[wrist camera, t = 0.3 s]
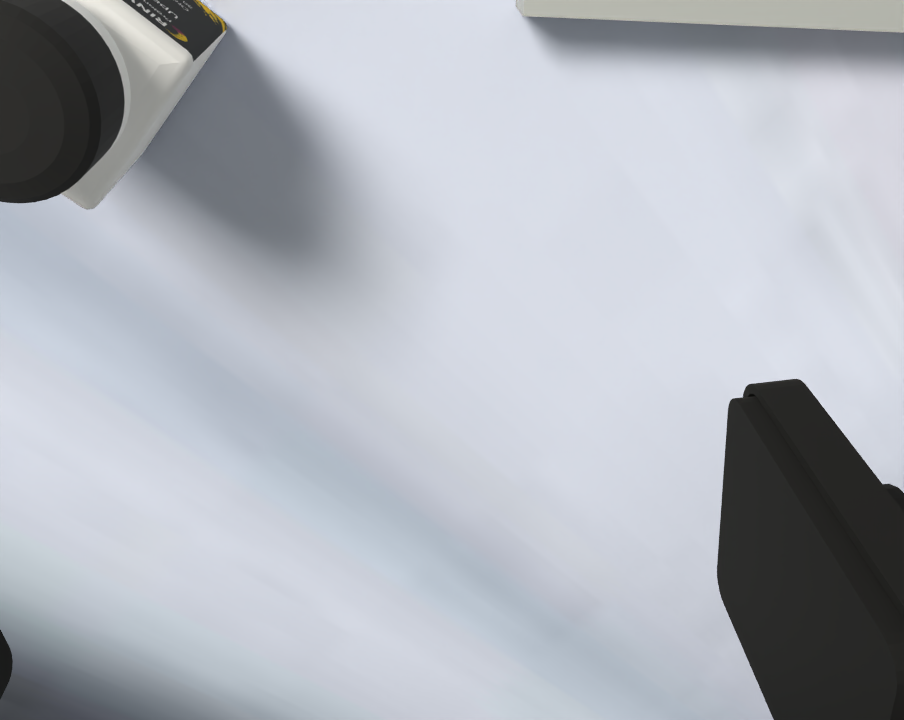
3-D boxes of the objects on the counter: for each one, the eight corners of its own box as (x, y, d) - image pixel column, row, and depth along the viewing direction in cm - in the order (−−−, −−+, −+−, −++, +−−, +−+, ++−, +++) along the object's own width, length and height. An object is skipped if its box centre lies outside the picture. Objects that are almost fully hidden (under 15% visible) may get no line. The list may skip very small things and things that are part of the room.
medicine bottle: (232, 24, 35) (160, 96, 25) (140, 157, 38) (40, 272, 27) (70, -106, 32) (-86, -87, 22) (-16, 46, 35) (-193, 128, 25)
